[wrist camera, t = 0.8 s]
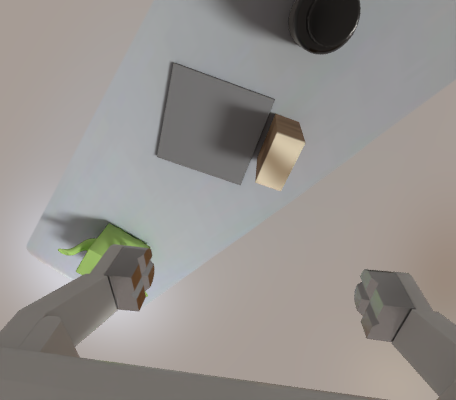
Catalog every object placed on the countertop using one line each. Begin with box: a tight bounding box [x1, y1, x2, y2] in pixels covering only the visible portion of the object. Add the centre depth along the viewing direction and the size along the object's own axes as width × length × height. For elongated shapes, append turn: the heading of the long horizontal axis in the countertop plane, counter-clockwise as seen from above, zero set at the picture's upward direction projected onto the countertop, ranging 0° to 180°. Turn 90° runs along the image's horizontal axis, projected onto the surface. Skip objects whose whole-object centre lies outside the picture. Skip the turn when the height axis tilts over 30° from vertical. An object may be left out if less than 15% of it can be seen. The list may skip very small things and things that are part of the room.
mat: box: [157, 63, 275, 185], centre depth 45 cm, size 16×16×1 cm
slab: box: [255, 114, 305, 191], centre depth 41 cm, size 8×4×9 cm, turn 163°
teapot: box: [58, 224, 150, 297], centre depth 58 cm, size 15×13×11 cm
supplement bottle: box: [288, 0, 360, 54], centre depth 31 cm, size 7×7×12 cm
